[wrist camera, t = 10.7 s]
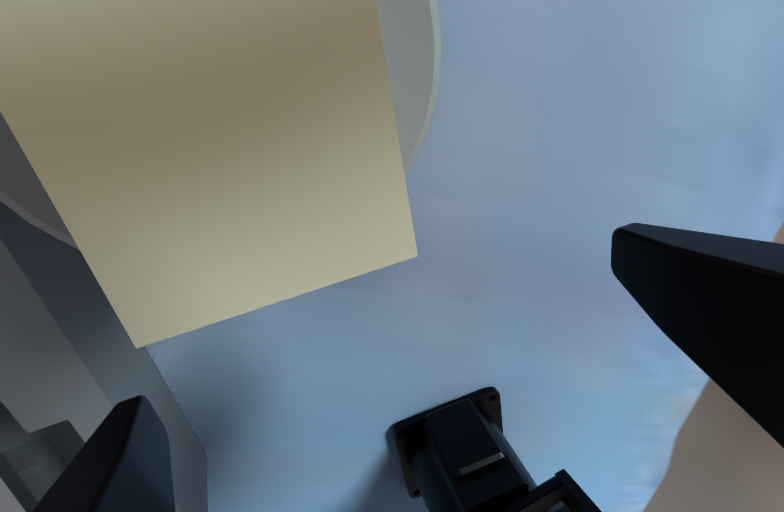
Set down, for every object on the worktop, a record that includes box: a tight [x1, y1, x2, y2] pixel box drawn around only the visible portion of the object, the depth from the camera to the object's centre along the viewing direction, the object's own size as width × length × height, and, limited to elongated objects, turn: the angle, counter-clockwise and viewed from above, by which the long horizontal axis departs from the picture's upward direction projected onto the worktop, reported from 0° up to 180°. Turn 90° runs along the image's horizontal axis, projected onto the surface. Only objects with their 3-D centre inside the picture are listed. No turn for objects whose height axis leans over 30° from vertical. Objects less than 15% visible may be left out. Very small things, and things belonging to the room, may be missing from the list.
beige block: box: [0, 0, 418, 349], centre depth 7 cm, size 5×4×3 cm
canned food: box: [0, 0, 442, 250], centre depth 12 cm, size 8×8×11 cm
